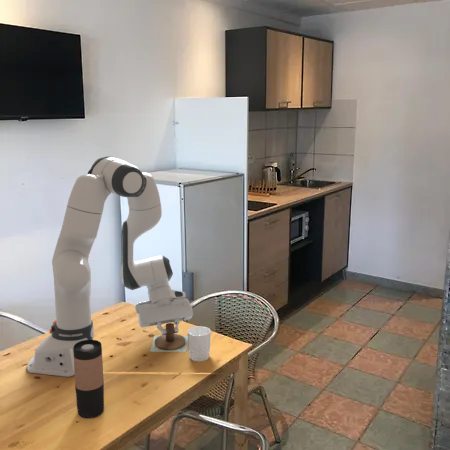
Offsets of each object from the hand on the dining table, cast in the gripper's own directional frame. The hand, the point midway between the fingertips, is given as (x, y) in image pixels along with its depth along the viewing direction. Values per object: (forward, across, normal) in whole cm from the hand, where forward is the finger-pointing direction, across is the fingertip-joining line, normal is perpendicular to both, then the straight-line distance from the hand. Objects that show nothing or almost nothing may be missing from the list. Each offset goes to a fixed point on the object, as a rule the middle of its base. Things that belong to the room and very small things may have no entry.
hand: (170, 333), depth 180 cm
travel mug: (+24, -34, -18) cm, 45 cm away
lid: (+2, 0, +3) cm, 4 cm away
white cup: (+13, +6, -6) cm, 15 cm away
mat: (+3, 0, +4) cm, 5 cm away
